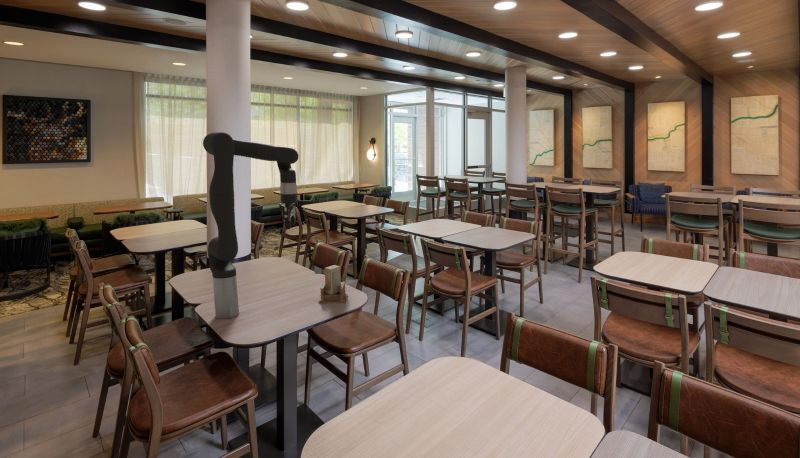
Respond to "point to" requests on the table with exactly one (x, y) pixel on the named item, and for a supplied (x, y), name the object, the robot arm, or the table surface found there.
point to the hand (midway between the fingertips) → (290, 227)
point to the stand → (333, 295)
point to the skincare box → (332, 279)
